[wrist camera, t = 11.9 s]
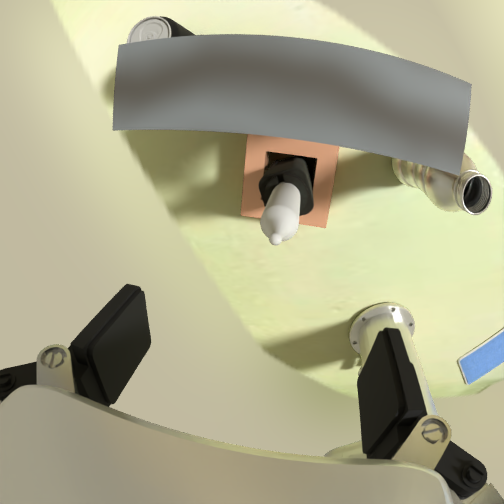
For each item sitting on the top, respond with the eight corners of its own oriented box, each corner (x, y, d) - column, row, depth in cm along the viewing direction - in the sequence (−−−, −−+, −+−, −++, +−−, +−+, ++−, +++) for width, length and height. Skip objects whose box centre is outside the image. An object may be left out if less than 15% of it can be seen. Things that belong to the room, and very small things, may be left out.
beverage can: (212, 37, 35) (180, 13, 24) (200, 77, 38) (165, 65, 27) (172, 33, 35) (132, 13, 24) (161, 71, 38) (118, 61, 27)
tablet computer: (465, 383, 54) (467, 386, 53) (455, 357, 51) (457, 361, 50) (525, 341, 46) (527, 345, 45) (521, 310, 44) (524, 313, 42)
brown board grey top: (372, 141, 38) (459, 175, 14) (218, 121, 40) (112, 130, 17) (377, 101, 35) (471, 84, 12) (222, 81, 37) (118, 44, 14)
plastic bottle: (381, 171, 39) (435, 213, 21) (398, 130, 36) (466, 142, 18) (416, 190, 39) (483, 242, 21) (433, 150, 36) (512, 178, 18)
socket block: (323, 216, 44) (325, 228, 39) (247, 205, 45) (240, 215, 40) (335, 139, 39) (339, 142, 34) (254, 128, 40) (247, 129, 35)
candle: (279, 195, 43) (250, 282, 21) (269, 161, 42) (225, 214, 19) (313, 186, 42) (322, 267, 20) (303, 152, 40) (302, 194, 18)
